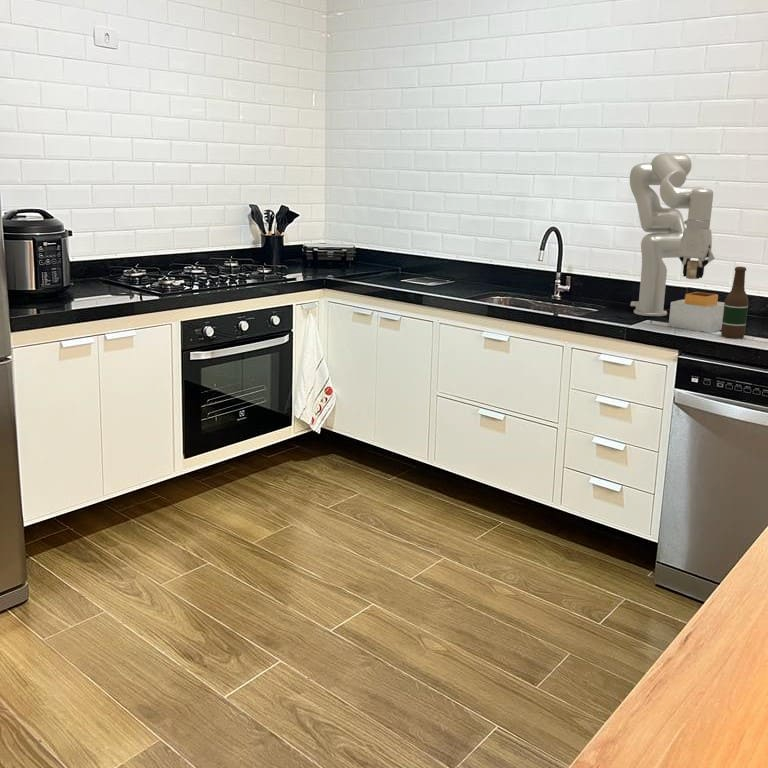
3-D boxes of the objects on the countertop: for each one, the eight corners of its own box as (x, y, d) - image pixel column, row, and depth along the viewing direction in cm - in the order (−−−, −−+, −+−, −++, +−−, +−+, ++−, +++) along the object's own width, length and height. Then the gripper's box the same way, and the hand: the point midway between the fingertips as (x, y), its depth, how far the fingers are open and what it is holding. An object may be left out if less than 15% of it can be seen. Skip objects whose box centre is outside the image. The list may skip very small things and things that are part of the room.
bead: (683, 277, 298) (685, 261, 296) (690, 276, 300) (691, 260, 299) (694, 279, 294) (696, 262, 293) (701, 278, 297) (703, 261, 295)
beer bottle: (747, 339, 285) (755, 268, 279) (723, 338, 286) (731, 268, 280) (741, 334, 292) (750, 265, 286) (718, 333, 294) (726, 265, 288)
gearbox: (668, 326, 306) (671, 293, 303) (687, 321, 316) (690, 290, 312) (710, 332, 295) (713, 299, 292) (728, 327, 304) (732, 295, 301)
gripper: (670, 223, 296) (665, 275, 301) (715, 227, 284) (709, 281, 289) (682, 222, 301) (677, 273, 306) (726, 226, 288) (720, 279, 293)
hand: (692, 276), depth 297 cm, fingers closed on bead, 4 cm apart
